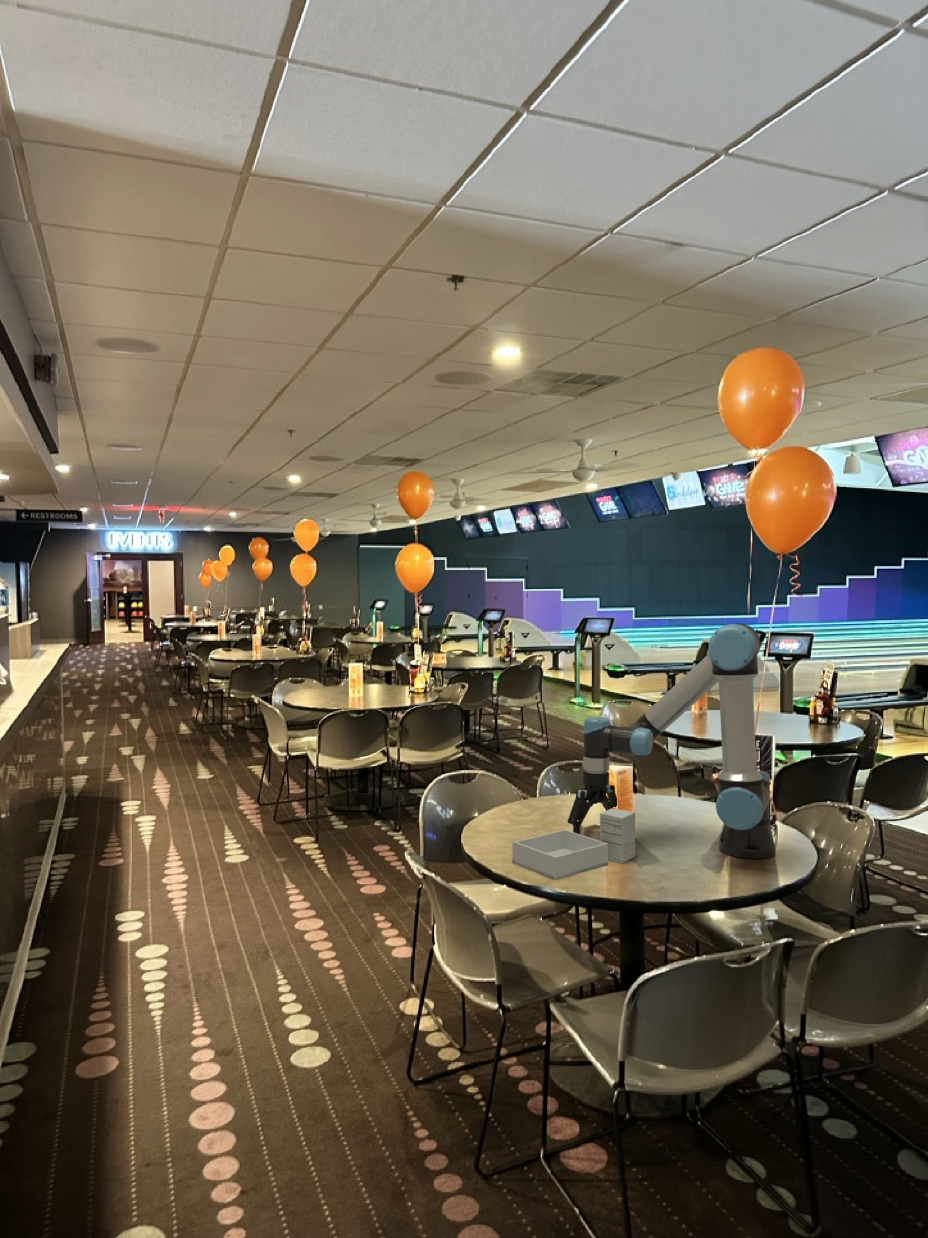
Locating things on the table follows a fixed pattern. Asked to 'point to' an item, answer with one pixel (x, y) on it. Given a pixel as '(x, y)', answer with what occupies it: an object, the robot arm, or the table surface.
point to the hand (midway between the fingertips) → (594, 843)
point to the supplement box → (618, 834)
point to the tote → (560, 853)
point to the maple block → (592, 832)
